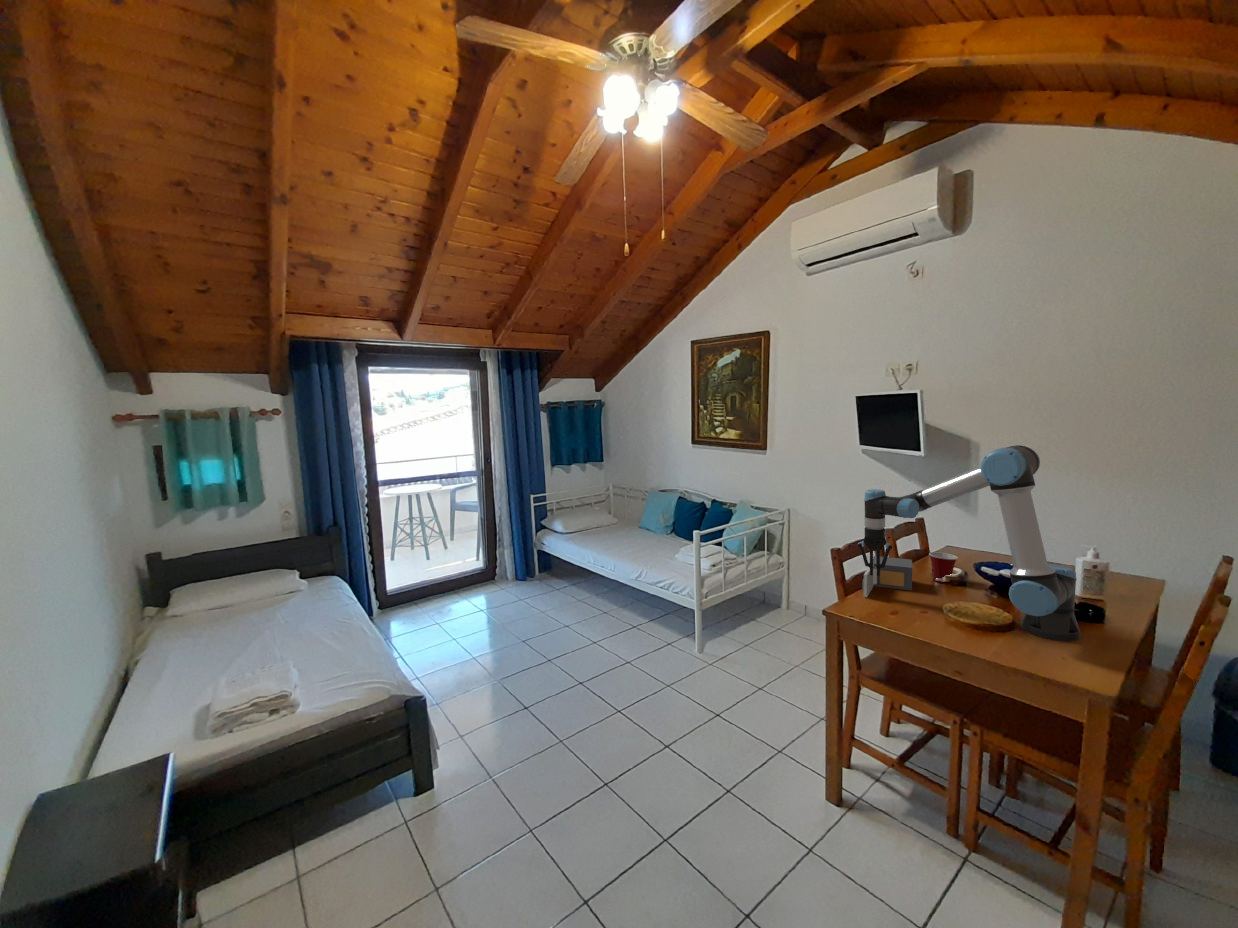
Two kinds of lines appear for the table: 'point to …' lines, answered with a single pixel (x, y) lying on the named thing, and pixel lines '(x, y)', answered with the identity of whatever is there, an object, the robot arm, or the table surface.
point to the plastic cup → (942, 564)
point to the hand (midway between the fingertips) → (874, 582)
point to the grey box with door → (895, 573)
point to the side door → (867, 582)
